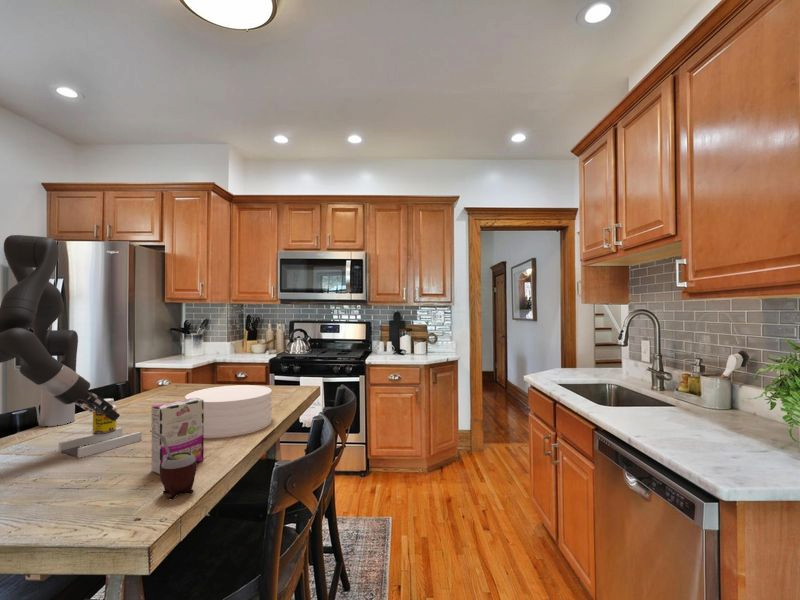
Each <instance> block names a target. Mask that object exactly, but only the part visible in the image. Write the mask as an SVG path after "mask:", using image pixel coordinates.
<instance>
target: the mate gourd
mask: <svg viewBox="0 0 800 600" xmlns="http://www.w3.org/2000/svg"><path fill="white" fill-rule="evenodd" d="M149 432H150V433H151V434H152V433H154V434H156V435H157V436H159V437H160V438H161V441H162V443H163V444H164V446H165V449H166V451H167V454H168V456H167V457H166V458H165V459H164V461H163V462H162V465H161V469H160V475H159V478H160V481H161V484H162V485H163V489H164V490H163V491H162V493H163V494H164V495H169V497H168V500H169V499H172V500H174V499H175V498H176V497H177V496H178V495H180V494H179V493H188V494H193V493H194V489H193V486H194V483H195V476H196V473H197V468H198V464H197V463H198V462H196V458H195V457H194V455H193V454H192V453H190V452H179V453H174V454H171V453H170V451H169V448H168V446H167V443H166V439H165V437H163V436H162V435H161V434H160V433H157V432H154V431H152V429H151V430H149ZM192 492H193V493H192ZM176 495H177V496H176ZM175 496H176V497H175ZM174 497H175V498H174Z"/></svg>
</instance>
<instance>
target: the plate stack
mask: <svg viewBox="0 0 800 600" xmlns="http://www.w3.org/2000/svg"><path fill="white" fill-rule="evenodd" d="M272 393H273V391H272V389H271V388H270V387H268V386H263V385H254V384H253V385H252V384H251V385H250V384H241V385H237V384H236V385H224V386H216V387H215V386H214V387H210V388H209V387H207V388H204V389H198V390H195V391H192V392H189V393H188V394H186V395H184V400H186V399H191V398H199V399H203V400H204V428H203V430H204V439H213V438H214V439H219V438H230V437H235V436H243V435H247V434H250V433H254V432H258V431H261V430H262V429H264V428H266V427H267V428H268V426H270V424H272V399H273V398H272Z"/></svg>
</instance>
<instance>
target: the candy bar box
mask: <svg viewBox="0 0 800 600" xmlns="http://www.w3.org/2000/svg"><path fill="white" fill-rule="evenodd" d="M203 428H204V400H203V399H199V398H191V399H186V400H185V399H182V400H177V401H171V402H167V403H162V404H157V405H153V406H151V430H152V431H154V432H157V433H160V434H161V435H162V436H163V437H165V439H166V443H167V446H168V448H169V451H170V453H171V454H174V453H179V452H190V453H192V454H193V455H194V457H195V458H196V462H197V463H199V462H202V461H204V455H205V454H204V448H205V447H204V441H205V438H204V430H203ZM167 456H168V454H167V451H166V449H165V446H164V444H163V443H162V441H161V438H160V437H159V436H157V435H156V434H154V433H152V432H151V472H153V473H155V474H156V475H159V476H160V469H161V465H162V462H163V461H164V459H165V458H166V457H167Z"/></svg>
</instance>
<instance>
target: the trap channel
mask: <svg viewBox="0 0 800 600" xmlns="http://www.w3.org/2000/svg"><path fill="white" fill-rule="evenodd" d="M118 436H119V437H118ZM111 438H112V439H111ZM140 440H141V441H142V431H137V432H133V433H128V434H126V435H123V427H121V426H119V427H116V431H115V433H113V434H111V435H107V436H93V434H87V435H84V436H80V437H76V438H72V439H69V440H64V441H61V442H58V452H59V453H62V454H65V453H66V455H68V454H69V455H68V456H71V455H72V456H71V457H74V456H76V457H75V458H78V457H79V458H78V459H82V458H85V457H84V456H86V457H89V456H91V455H92V454H93V455H95V453H96V454H99V453H103V452H105V451H106V452H107V451H109V450H112V449H116V448H119V447H124V446H126V444H127V445H131V444H134V443H137V442H140ZM100 441H101V442H100ZM133 442H134V443H133ZM92 443H93V444H92ZM88 444H89V445H88ZM84 445H86V446H84ZM123 445H124V446H123ZM80 446H82V447H80ZM88 455H89V456H88ZM81 457H82V458H81Z"/></svg>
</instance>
